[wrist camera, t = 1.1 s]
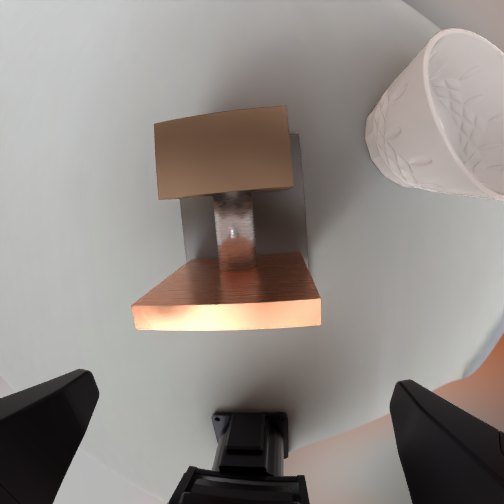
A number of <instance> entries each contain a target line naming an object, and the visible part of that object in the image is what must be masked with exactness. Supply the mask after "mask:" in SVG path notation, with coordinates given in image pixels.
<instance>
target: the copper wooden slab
mask: <svg viewBox="0 0 504 504" xmlns="http://www.w3.org/2000/svg"><path fill="white" fill-rule="evenodd" d="M212 195H213V206H214V217H215V227H216V237H217V247H218V257H216V258H200V259H191V260H190V261H188V262H187V263H186V264H185V265H183V266H182V267H181V268H179V269H178V270H177V271H175V272H174V273H173V274H171V275H170V276H169V277H167V278H166V279H165V280H164V281H162V282H161V283H160V284H158V285H157V286H156V287H154V288H153V289H152V290H151V291H149V292H148V293H147V294H145V295H144V296H143V297H142V298H140V299H139V300H138V301H137V302H135V303H134V304H133V305H131V307H132V312H133V316H134V321H135V325H136V329H142V330H247V329H270V328H287V327H302V326H315V325H321V298H320V296H319V293H318V291H317V289H316V286H315V284H314V282H313V279H312V277H311V275H310V273H309V270H308V268H307V266H306V264H305V261H304V259H303V257H302V255H301V252H291V253H276V254H261V255H257V252H256V240H255V228H254V216H253V204H252V192H251V190H247V191H236V192H226V193H216V194H212Z"/></svg>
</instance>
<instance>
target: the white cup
mask: <svg viewBox="0 0 504 504" xmlns="http://www.w3.org/2000/svg"><path fill="white" fill-rule="evenodd" d="M365 140H366V144H367V147H368V150H369V154H370V157H371V160H372V161H373V162H374V163H375V165H376V166H377V167H378V169H379V170H380V171H381V172H382V174H383V175H384V176H385V177H386V178H388V179H390V180H391V181H393V182H395V183H397V184H398V185H400V186H402V187H413V188H420V189H423V190H426V191H433V192H440V193H447V194H453V195H463V196H472V197H480V198H487V199H493V200H500V201H504V53H503V52H502V51H501V50H500V49H499V48H498V47H496V46H495V45H494V44H493V43H491V42H490V41H488V40H487V39H485V38H484V37H482V36H480V35H478V34H476V33H474V32H471V31H468V30H465V29H459V28H450V29H445V30H442V31H440V32H438V33H436V34H435V35H434V36H433V37H432V38H431V39H430V40H429V42H428V43H427V44H426V45H425V46H424V47H423V48H422V50H421V51H420V52H419V53H418V54H417V55H416V56H415V58H414V59H413V60H412V61H411V62H410V63H409V64H408V65H407V67H406V68H405V69H404V70H403V71H402V72H401V73H400V74H399V76H398V77H397V78H396V79H395V80H394V81H393V83H392V84H391V85H390V86H389V88H388V89H387V90H386V92H385V93H384V94H383V95H382V97H381V100H380V101H379V102H378V103H377V104H376V106H375V107H374V109H373V110H372V112H371V113H370V114H369V116H368V117H367V123H366V132H365Z"/></svg>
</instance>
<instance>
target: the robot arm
mask: <svg viewBox="0 0 504 504" xmlns="http://www.w3.org/2000/svg"><path fill="white" fill-rule="evenodd" d="M98 398H99V390H98V387H97V385H96V382H95V379H94V377H93V374H92V373H91V372H90V371H88V370H84V369H77V370H75V371H72V372H70V373H67V374H65V375H62V376H60V377H57V378H54V379H52V380H49V381H47V382H44V383H41V384H39V385H36V386H33V387H31V388H28V389H25V390H22V391H20V392H17V393H14V394H11V395H9V396H6V397H3V398H0V504H53V502H54V499H55V497H56V495H57V492H58V490H59V488H60V486H61V483H62V481H63V479H64V477H65V475H66V472H67V470H68V468H69V466H70V464H71V461H72V459H73V457H74V455H75V453H76V451H77V449H78V447H79V445H80V443H81V441H82V439H83V437H84V435H85V432H86V430H87V427H88V425H89V422H90V419H91V416H92V414H93V411H94V409H95V406H96V403H97V401H98ZM390 413H391V417H392V422H393V427H394V433H395V438H396V444H397V449H398V454H399V457H400V461H401V464H402V467H403V471H404V474H405V477H406V481H407V485H408V488H409V492H410V496H411V500H412V503H413V504H504V433H503V432H501V431H498V429H496V428H494V427H492V426H490V425H489V424H487V423H485V422H483V421H481V420H480V419H478V418H476V417H474V416H472V415H471V414H469V413H467V412H466V411H464V410H462V409H460V408H459V407H457V406H455V405H453V404H452V403H450V402H448V401H447V400H445V399H443V398H441V397H440V396H438V395H436V394H435V393H433V392H431V391H429V390H428V389H426V388H424V387H423V386H421V385H419V384H418V383H416V382H414V381H413V380H403V381H398V382H397V383H396V385H395V388H394V392H393V395H392V398H391V401H390ZM216 417H218V418H216ZM280 417H283V418H280ZM212 422H213V426H214V430H215V434H216V438H217V442H218V448H217V452H216V456H215V460H214V464H213V468H212V470H205V469H199V468H197V467H193V466H189V468H188V470H187V472H186V473H184V475H183V477H182V479H181V481H180V482H179V484H178V486H177V488H176V490H175V491H174V493H173V495H172V497H171V499H170V501H169V502H168V503H167V504H310V503H309V498H308V492H307V487H306V481H305V476H304V475H297V476H284V459H286V458H287V457H288V415H287V414H286V413H284V412H276V413H218V412H217V413H214V414H213V416H212Z"/></svg>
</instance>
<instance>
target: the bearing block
mask: <svg viewBox="0 0 504 504" xmlns="http://www.w3.org/2000/svg"><path fill="white" fill-rule="evenodd" d="M154 135H155V156H156V172H157V185H158V197H159V200H162V199H180V205H181V215H182V225H183V234H184V243H185V251H186V259H187V262H188V261H190V260H191V259H200V258H216V257H218V247H217V237H216V227H215V217H214V206H213V195H212V194H216V193H226V192H236V191H247V190H251V192H252V204H253V216H254V228H255V240H256V252H257V255H261V254H276V253H291V252H301V255H302V257H303V259H304V261H305V264H306V266H307V268H308V251H307V232H306V216H305V201H304V188H303V176H302V165H301V154H300V144H299V135H298V134H289V129H288V120H287V111H286V106H275V107H262V108H251V109H241V110H233V111H225V112H218V113H211V114H204V115H198V116H192V117H186V118H181V119H176V120H171V121H166V122H161V123H156V124H154Z"/></svg>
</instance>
